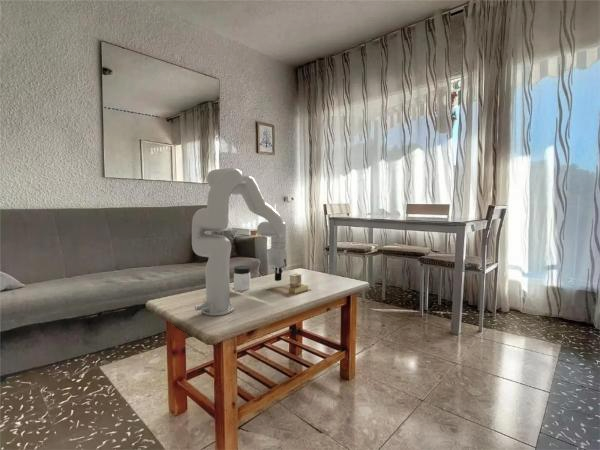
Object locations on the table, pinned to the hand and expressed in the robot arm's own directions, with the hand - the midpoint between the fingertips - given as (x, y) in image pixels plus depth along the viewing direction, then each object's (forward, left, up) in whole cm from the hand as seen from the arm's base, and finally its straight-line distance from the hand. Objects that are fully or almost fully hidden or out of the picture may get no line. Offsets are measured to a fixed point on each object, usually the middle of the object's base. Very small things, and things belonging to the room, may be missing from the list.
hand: (278, 280), depth 162 cm
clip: (+1, -14, -3) cm, 14 cm away
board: (-1, -9, -4) cm, 10 cm away
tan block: (+1, -12, -3) cm, 13 cm away
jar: (-15, +10, -5) cm, 19 cm away
